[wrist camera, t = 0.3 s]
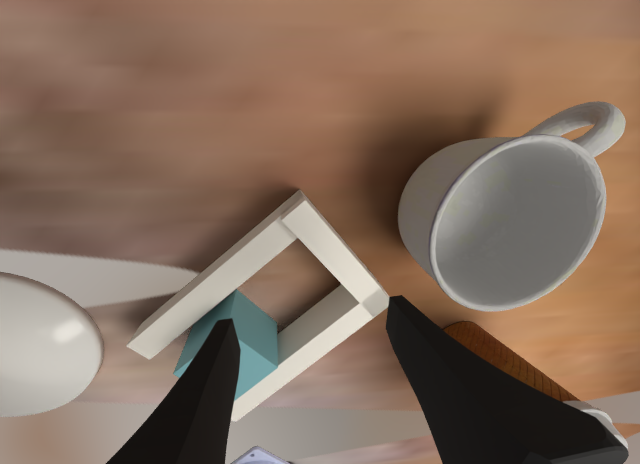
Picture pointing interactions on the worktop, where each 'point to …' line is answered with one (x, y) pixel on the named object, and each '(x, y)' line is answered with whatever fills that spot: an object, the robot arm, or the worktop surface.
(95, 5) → the worktop surface
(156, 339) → the frame
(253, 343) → the cube
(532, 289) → the teacup
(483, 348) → the disposable coffee cup
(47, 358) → the dish
